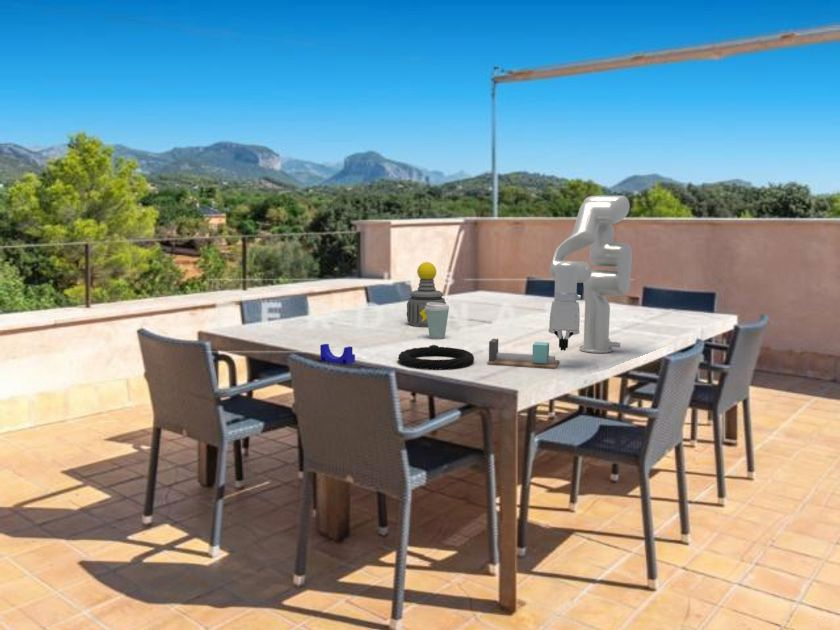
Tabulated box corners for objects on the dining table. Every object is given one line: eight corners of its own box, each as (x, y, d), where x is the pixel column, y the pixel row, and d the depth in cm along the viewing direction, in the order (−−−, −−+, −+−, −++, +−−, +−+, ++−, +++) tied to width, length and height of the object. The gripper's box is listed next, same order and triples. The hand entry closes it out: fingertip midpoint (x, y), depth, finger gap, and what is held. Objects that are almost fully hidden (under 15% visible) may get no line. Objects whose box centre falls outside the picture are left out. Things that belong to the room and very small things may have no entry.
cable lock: (397, 360, 252) (397, 344, 281) (397, 371, 252) (397, 354, 282) (478, 360, 252) (469, 344, 282) (478, 371, 253) (469, 354, 283)
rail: (555, 362, 262) (555, 356, 262) (554, 363, 260) (554, 357, 259) (496, 358, 268) (496, 352, 268) (495, 360, 266) (495, 353, 265)
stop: (498, 357, 270) (498, 338, 269) (494, 361, 263) (494, 342, 263) (492, 357, 271) (493, 338, 270) (488, 361, 264) (489, 341, 263)
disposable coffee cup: (451, 336, 320) (452, 302, 318) (446, 340, 310) (446, 305, 308) (428, 335, 323) (428, 301, 321) (421, 339, 313) (421, 304, 311)
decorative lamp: (404, 327, 346) (404, 263, 342) (409, 321, 364) (409, 260, 360) (444, 328, 344) (445, 263, 339) (447, 322, 362) (448, 261, 358)
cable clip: (354, 362, 265) (354, 346, 264) (347, 364, 261) (347, 348, 260) (328, 359, 271) (327, 343, 270) (320, 361, 267) (320, 344, 266)
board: (559, 362, 266) (559, 360, 266) (555, 369, 255) (555, 366, 255) (493, 358, 273) (493, 356, 273) (487, 364, 262) (487, 362, 262)
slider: (548, 360, 264) (549, 342, 263) (546, 363, 259) (547, 345, 258) (534, 359, 266) (535, 341, 265) (532, 362, 260) (532, 344, 259)
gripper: (588, 298, 258) (585, 349, 260) (545, 296, 262) (543, 347, 264) (586, 300, 251) (584, 353, 253) (542, 298, 255) (540, 350, 257)
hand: (563, 349), depth 259 cm, fingers closed
